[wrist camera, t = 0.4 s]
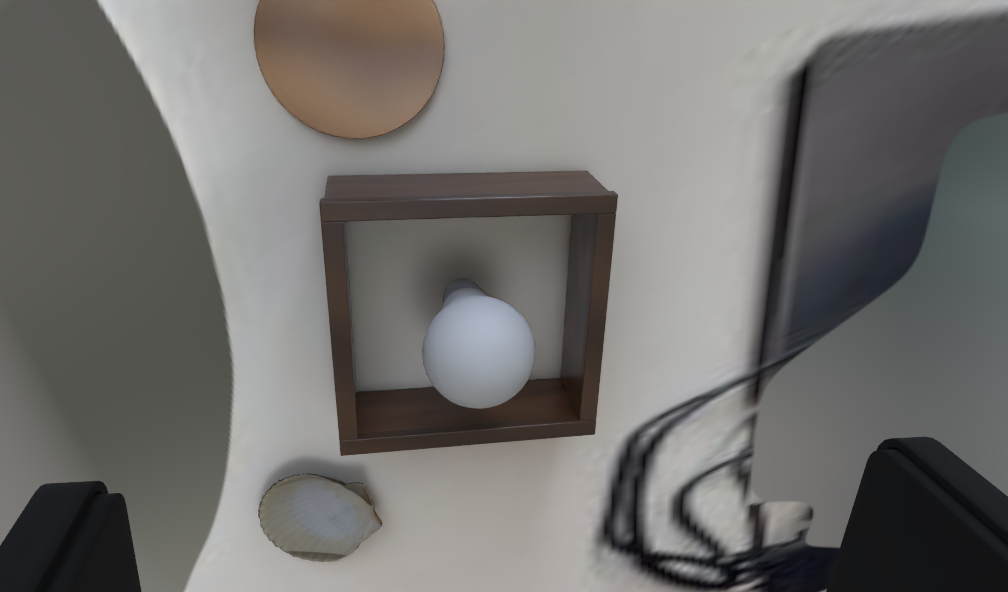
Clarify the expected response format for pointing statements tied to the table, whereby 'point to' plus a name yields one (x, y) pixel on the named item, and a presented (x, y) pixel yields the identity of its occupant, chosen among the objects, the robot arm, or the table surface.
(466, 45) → the table surface
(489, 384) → the lightbulb
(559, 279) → the table surface
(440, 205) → the wooden frame
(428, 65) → the coaster
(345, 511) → the seashell
